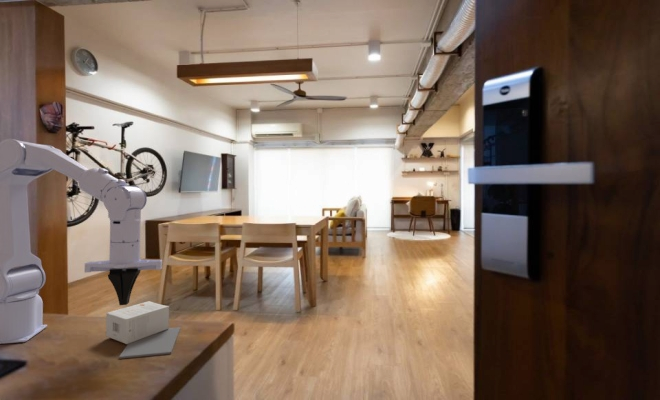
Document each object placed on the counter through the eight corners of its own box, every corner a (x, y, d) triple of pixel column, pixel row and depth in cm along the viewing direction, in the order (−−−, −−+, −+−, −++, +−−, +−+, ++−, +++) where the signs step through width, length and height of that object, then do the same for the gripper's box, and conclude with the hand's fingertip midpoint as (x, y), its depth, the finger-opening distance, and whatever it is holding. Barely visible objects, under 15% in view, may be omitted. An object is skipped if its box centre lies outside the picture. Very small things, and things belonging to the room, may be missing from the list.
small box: (125, 345, 74) (169, 329, 84) (126, 318, 74) (170, 305, 84) (105, 337, 78) (149, 322, 88) (105, 312, 78) (149, 300, 88)
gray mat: (137, 332, 82) (137, 330, 82) (180, 328, 85) (180, 327, 85) (119, 358, 69) (119, 356, 69) (171, 353, 72) (171, 351, 72)
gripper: (78, 244, 69) (77, 312, 70) (158, 242, 73) (157, 307, 74) (92, 240, 76) (91, 301, 76) (164, 239, 80) (163, 297, 80)
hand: (124, 303), depth 75 cm, fingers closed
